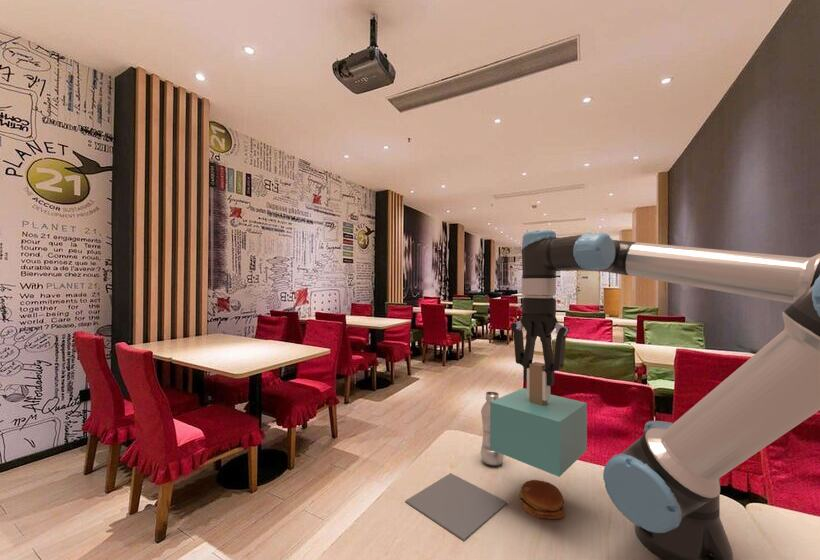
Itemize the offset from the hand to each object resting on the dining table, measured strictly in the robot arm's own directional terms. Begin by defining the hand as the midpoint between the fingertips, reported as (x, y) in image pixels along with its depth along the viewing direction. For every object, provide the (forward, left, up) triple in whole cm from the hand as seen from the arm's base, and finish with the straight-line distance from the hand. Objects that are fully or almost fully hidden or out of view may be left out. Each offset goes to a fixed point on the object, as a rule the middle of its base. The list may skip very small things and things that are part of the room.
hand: (538, 396), depth 80 cm
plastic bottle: (+18, -9, -26) cm, 32 cm away
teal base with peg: (0, 0, -12) cm, 12 cm away
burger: (-1, 0, -26) cm, 26 cm away
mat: (+14, +13, -25) cm, 32 cm away
